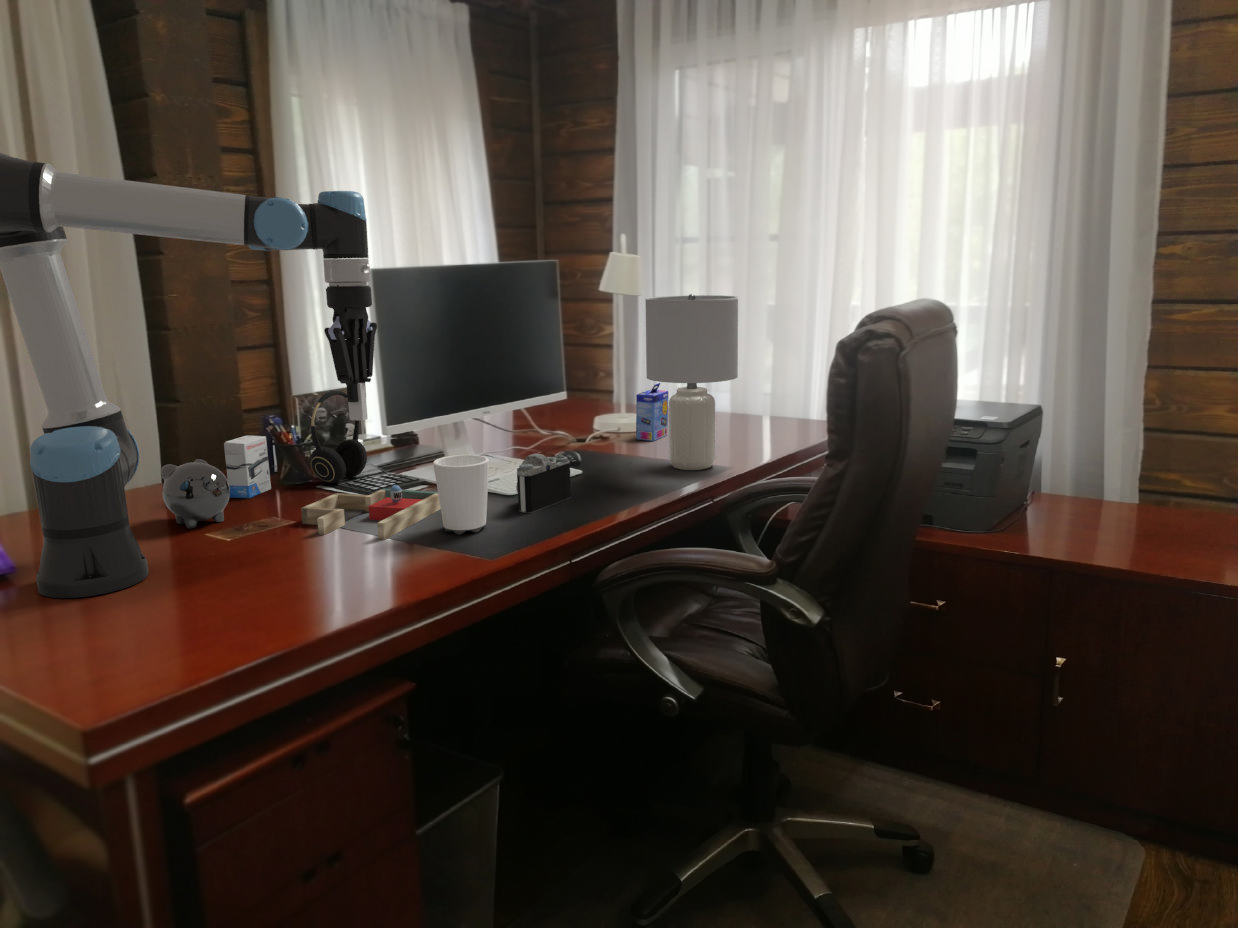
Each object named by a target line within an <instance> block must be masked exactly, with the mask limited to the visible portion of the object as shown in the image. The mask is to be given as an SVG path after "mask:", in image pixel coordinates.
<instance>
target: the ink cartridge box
mask: <svg viewBox="0 0 1238 928" xmlns="http://www.w3.org/2000/svg"><path fill="white" fill-rule="evenodd" d="M660 386H661V382H659V383H656V384H654V385H653V386H652V388H651V389H649V390H645V391H642V392H640V393H637V394H636V398H635V401H636V404H635V405H636V407H635V409H636V410H635V411H636V412H635V414H636V415H635V418H636V419H635V420H636V421H635V440H638V441H647V442H655V441H657V440H659V439H661V438H664V437H667V436H668V428H669V391H668V390H665V389H664V390H663V389H662V390H661V389H659V387H660Z"/></svg>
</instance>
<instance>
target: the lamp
mask: <svg viewBox="0 0 1238 928" xmlns="http://www.w3.org/2000/svg"><path fill="white" fill-rule="evenodd" d="M738 345H739V296H735V295H719V294H718V295H712V294H711V295H709V294H708V295H707V294H706V295H704V294H703V295H702V294H701V295H699V294H697V295H695V294H693V293H690V294H688V295H665V296H664V295H663V296H652V297H651V296H650V297H646V298H645V359H646V360H645V361H646V362H645V364H646V365H645V367H646V369H645V370H646V379H647V380H649V381H653V382H659V383H673V384H686V386H685V387H683V386H682V387H678V388H677V389H676V393H675V394H673V395H672V396H671V397H670V398H669V399H668V433H669V434H668V438H669V439H668V443H669V445H668V447H669V450H668V452H669V455H668V458H669V462H670V464H671V466H672V467H673V468H674V469H678V470H681V471H701V470H706V469H710V468H711V467H712V466H713V464H714V462H715V460H716V459H715V458H716V400H715V397H713V395H712V394H710V393H708V390H707V388H706V387H702V386H698V384H707V383H722V382H727V381H733V380H736V379H737V378H738V374H739V373H738V366H739V364H738V363H739V362H738V361H739V360H738V359H739V357H738V356H739V355H738V354H739V349H738V348H739V346H738Z"/></svg>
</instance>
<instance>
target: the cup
mask: <svg viewBox="0 0 1238 928" xmlns="http://www.w3.org/2000/svg"><path fill="white" fill-rule="evenodd" d="M489 463H490V460H489V458H488V457H486V456H484V455H477V454H455V455H448V456H443V457H440V458H437V459H435V460H434V461H433V470H434V476H435V482H436V488H437V492H438V495H439V501H440V508H441V509H440V514H441V518H442V524H443V529H444V531H445V532H446V533H447V532H449V533H450V532H453V533H455V534H456V535H463V534H465V532H467V531H470V532H472V533H479V532H480V531H481V530H482V529H483V528H484V527H486V524H487V511H488V491H489V490H488V489H489V468H490V467H489V465H490V464H489Z"/></svg>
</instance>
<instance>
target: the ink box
mask: <svg viewBox="0 0 1238 928" xmlns="http://www.w3.org/2000/svg"><path fill="white" fill-rule="evenodd" d="M267 444H268V443H267V436H265V435H263V436H261V435H243V436H241V437H237V438H234V439H231V440H230V439H229V440H226V441H224V443H223V449H224V456H225V457H224V458H225V467H226V478H227V480H228V482H229V486H230V497H229V499H231V498H232V499H251V498H254V497H256V496H258V495H261V494H262V493H265V492H267V491H270V490H271V489H272V484H271V473H270V466H269V465H270V464H269V455H268V454H269V453H268V445H267Z"/></svg>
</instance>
